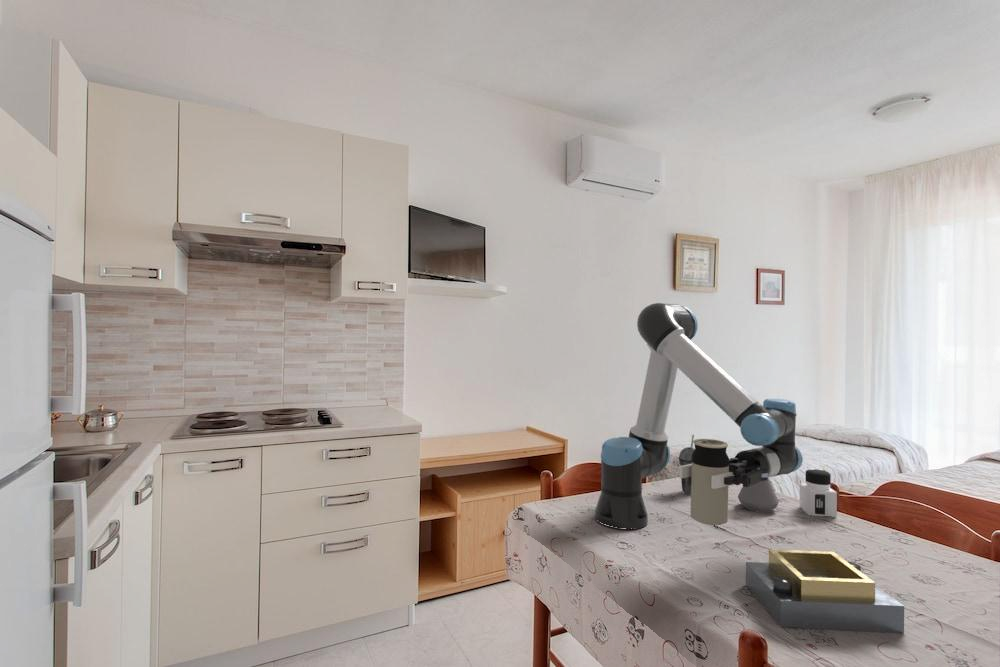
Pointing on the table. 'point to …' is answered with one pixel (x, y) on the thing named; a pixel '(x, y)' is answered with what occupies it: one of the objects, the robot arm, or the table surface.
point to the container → (818, 494)
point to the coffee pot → (759, 497)
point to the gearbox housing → (822, 593)
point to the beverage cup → (685, 460)
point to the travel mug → (709, 482)
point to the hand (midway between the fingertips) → (696, 477)
